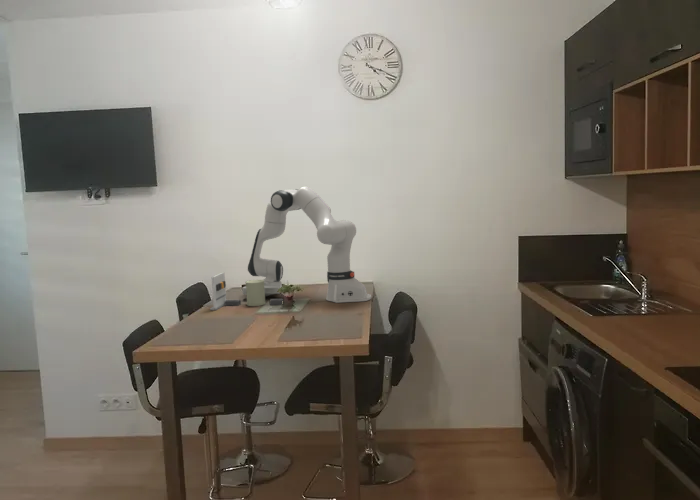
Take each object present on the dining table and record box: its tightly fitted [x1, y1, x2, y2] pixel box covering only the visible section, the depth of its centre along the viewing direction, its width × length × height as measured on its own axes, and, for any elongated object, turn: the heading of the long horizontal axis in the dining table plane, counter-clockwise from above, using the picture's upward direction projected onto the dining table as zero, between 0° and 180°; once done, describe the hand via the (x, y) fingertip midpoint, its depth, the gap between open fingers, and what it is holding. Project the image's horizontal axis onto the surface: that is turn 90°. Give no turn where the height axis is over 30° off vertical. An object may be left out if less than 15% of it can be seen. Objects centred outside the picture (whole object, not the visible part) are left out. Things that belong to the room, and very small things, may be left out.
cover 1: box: [224, 299, 242, 307], centre depth 290 cm, size 7×3×3 cm, turn 82°
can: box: [245, 279, 267, 307], centre depth 289 cm, size 9×9×12 cm
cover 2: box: [269, 298, 284, 306], centre depth 286 cm, size 6×3×3 cm, turn 82°
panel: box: [209, 272, 227, 311], centre depth 286 cm, size 4×14×16 cm, turn 172°
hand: (257, 292), depth 293 cm, fingers closed, pressing on can
